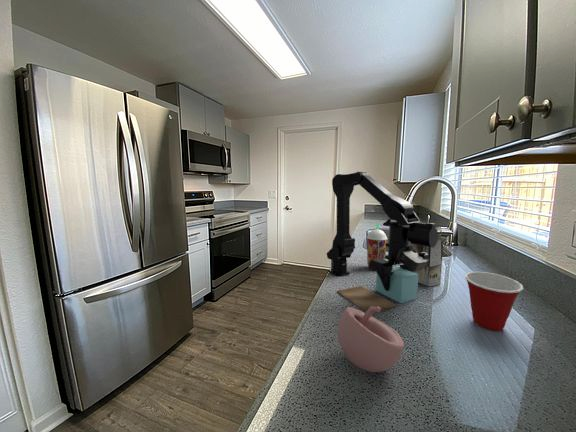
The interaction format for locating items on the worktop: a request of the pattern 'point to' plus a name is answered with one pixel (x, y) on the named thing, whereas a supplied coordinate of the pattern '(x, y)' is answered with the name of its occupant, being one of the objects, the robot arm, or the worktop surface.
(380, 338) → the mortar and pestle
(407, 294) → the light blue block
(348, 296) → the walnut board
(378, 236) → the smoothie
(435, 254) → the coffee box
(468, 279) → the plastic cup
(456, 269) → the worktop surface
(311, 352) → the worktop surface
